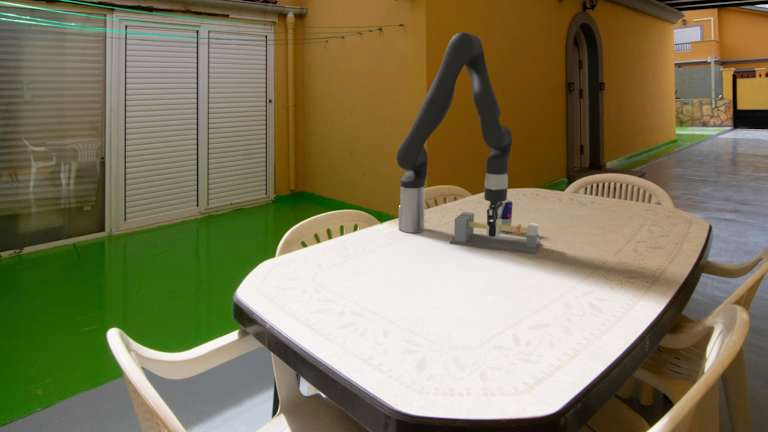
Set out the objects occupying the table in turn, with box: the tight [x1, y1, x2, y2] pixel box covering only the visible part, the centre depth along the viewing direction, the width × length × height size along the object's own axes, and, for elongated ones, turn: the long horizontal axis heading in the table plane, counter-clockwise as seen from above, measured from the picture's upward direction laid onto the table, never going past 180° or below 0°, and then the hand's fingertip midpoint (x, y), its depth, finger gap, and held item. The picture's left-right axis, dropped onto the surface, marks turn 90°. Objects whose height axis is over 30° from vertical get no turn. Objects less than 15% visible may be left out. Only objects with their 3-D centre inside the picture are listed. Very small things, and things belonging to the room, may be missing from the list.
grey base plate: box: [449, 232, 541, 255], centre depth 160 cm, size 29×12×1 cm, turn 65°
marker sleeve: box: [485, 219, 502, 236], centre depth 159 cm, size 4×5×5 cm
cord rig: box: [453, 211, 540, 248], centre depth 159 cm, size 27×11×8 cm, turn 65°
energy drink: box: [500, 199, 513, 234], centre depth 173 cm, size 5×5×12 cm
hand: (493, 233), depth 159 cm, fingers closed on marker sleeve, 5 cm apart
